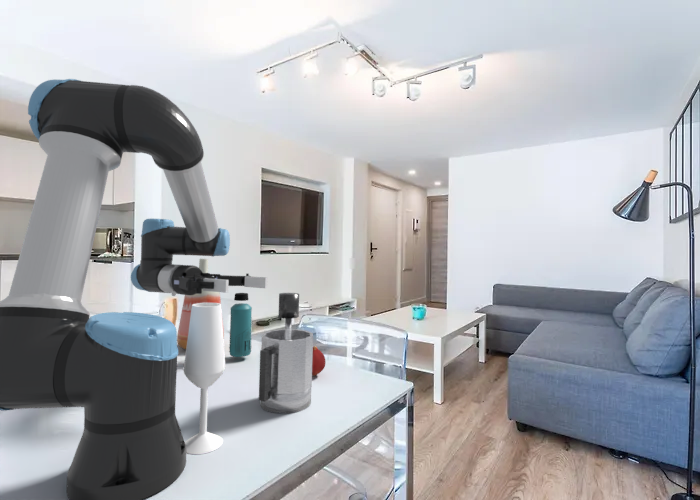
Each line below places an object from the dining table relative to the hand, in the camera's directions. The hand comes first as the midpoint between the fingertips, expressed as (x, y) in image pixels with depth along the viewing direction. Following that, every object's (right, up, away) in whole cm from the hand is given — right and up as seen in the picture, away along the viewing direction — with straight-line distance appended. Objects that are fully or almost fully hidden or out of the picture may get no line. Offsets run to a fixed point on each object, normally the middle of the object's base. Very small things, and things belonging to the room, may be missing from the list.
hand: (248, 284), depth 86 cm
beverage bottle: (-10, -25, +26) cm, 38 cm away
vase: (-26, -25, +37) cm, 51 cm away
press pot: (+9, -26, -6) cm, 28 cm away
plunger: (+10, -21, -4) cm, 24 cm away
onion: (+14, -26, +14) cm, 33 cm away
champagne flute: (-2, -26, -22) cm, 34 cm away
